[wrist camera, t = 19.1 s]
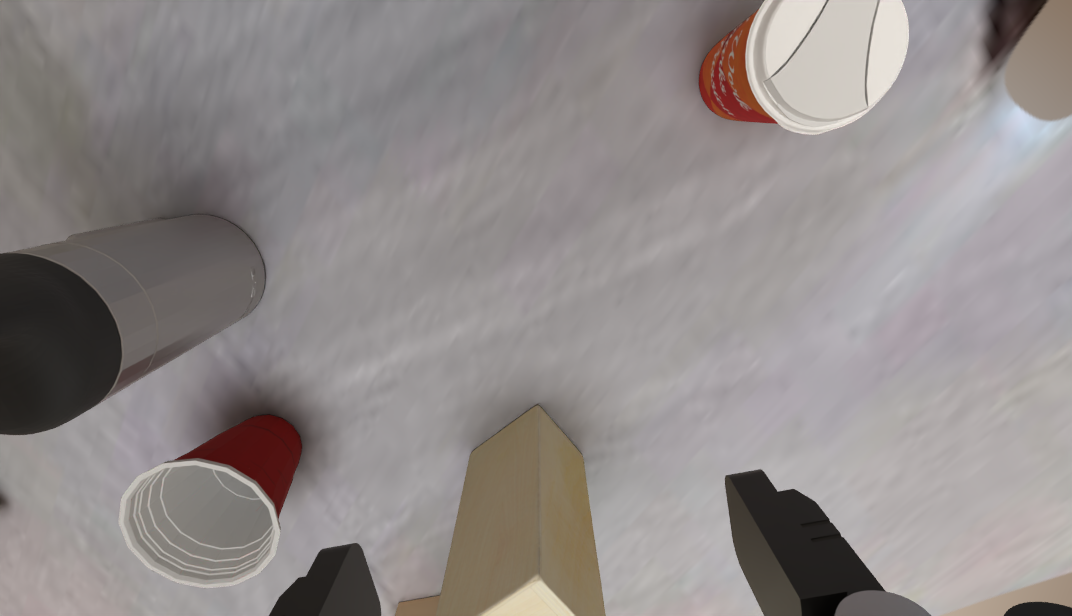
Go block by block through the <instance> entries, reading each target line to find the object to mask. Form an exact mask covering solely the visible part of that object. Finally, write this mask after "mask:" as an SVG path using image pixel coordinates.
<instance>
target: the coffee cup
mask: <svg viewBox="0 0 1072 616" xmlns="http://www.w3.org/2000/svg"><path fill="white" fill-rule="evenodd" d="M908 41H909V26H908V18H907V14H906V11H905V7H904V5H903V3H902V1H901V0H765V1H764V2H763V3H762V5H761V7H760V9H758V10H757V11H756V12H755V13H753V14H752V15H751V16H750V17H748V18H747V19H746V20H745V21H743V22H742V23H741V24H740V25H738V26H737V27H736V28H735V29H734V30H732V31H731V32H730V33H729V34H728V35H726V36H725V37H724V38H723V39H722V40H721V41H719V42H718V43H717V44H716V45H715V46H714V47H713V48H712V49H711V51H710V52H709V53H708V54H707V56H706V58H705V60H704V62H703V64H702V67H701V70H700V75H699V88H700V93H701V96H702V98H703V100H704V102H705V104H706V105H707V106H708V108H709V109H710V110H711V111H712V112H714V113H715V114H717V115H718V116H720V117H723V118H726V119H730V120H736V121H746V122H760V123H776V124H779V125H780V126H781V127H782V128H784V129H787V130H789V131H792V132H796V133H801V134H810V135H818V134H821V133H824V132H827V131H830V130H833V129H836V128H840V127H843V126H845V125H847V124H849V123H851V122H854V121H855V120H857V119H858V118H860V117H861V116H863V115H864V114H866V113H867V112H868V111H869V110H870V109H871V108H872V107H874V106H875V105H876V103H877V102H878V101H879V100H880V99H881V98H882V97H883V95H884V94H885V93H886V92H887V91H888V90H889V89H890V87H891V86H892V84H893V83H894V81H895V80H896V78H897V76H898V74H899V72H900V70H901V68H902V66H903V63H904V60H905V57H906V53H907V47H908Z"/></svg>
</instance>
